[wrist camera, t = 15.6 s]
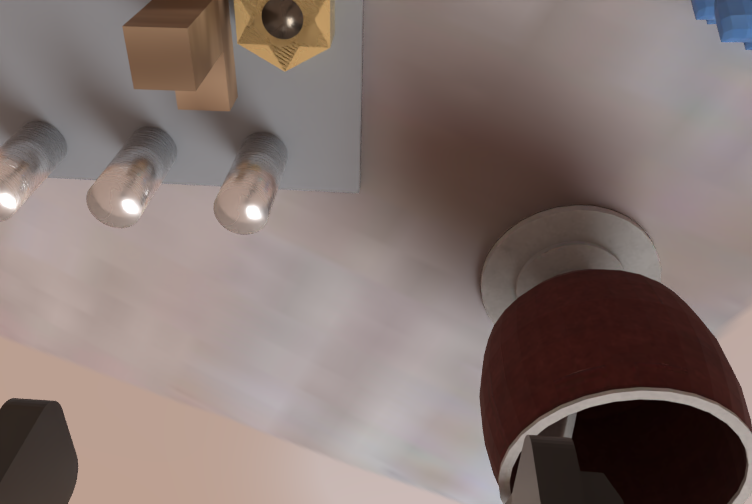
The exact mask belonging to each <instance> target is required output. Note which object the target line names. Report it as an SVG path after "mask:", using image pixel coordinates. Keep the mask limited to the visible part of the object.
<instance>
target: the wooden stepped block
mask: <svg viewBox="0 0 752 504" xmlns="http://www.w3.org/2000/svg"><path fill="white" fill-rule="evenodd" d="M122 28H123V33H124V39H125V44H126V50H127V55H128V60H129V66H130V71H131V77H132V82H133V88H134V89H142V90H171V91H175V94H176V100H177V107H178V110H205V111H230V110H231V108H232V106H233V105H234V103H235V101H236V99H237V97H238V93H237V82H236V72H235V62H234V52H233V41H232V31H231V21H230V11H229V1H228V0H151V1H150V2H149V3H148V4H147V5H146V6H145V7H144V8H142V9H141V10H140V11H139V12H138V13H137V14H136V15H134V16H133V17H132V18H131V19H130V20H129V21H128V22H126V23H125V24H124V25H123V26H122Z"/></svg>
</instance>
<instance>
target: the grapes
mask: <svg viewBox="0 0 752 504" xmlns="http://www.w3.org/2000/svg"><path fill="white" fill-rule="evenodd" d="M691 2H692V6H693V10H694V14H695V18H696V20H706V21H707V24H717V28H718V32H719V36H720V39H721V42H744V45H745V49H746V50H752V0H691Z"/></svg>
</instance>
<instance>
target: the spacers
mask: <svg viewBox="0 0 752 504" xmlns="http://www.w3.org/2000/svg"><path fill="white" fill-rule="evenodd" d="M66 154H67V143H66V140H65V138H64V136H63V135H62V133H61V132H60V131H59V130H58V129H57V128H55V127H54V126H52V125H51V124H49V123H46V122H43V121H31V122H28V123H26V124H25V125H24V126H23V127H21V128H20V129H19V130H18V131H17V132H16V133H15V134H14V135H13V136H12V137H10V138H9V139H8V140H7V141H6V142H5V143H4V144H3V145H2V146H1V147H0V221H5V220H7V219H9V218H10V217H12V216H13V214H14V213H15V212H16V211H17V210H18V209H19V208H20V207H21V206H22V204H23V203H24V202H25V201H26V200H27V199H28V198H29V197H30V196H31V195H32V193H33V192H34V191H35V190H36V189H37V188H38V187H39V186H40V185H41V183H42V182H43V181H44V180H45V179H46V178H47V177H48V176H49V175H50V173H51V172H52V171H53V170H54V169H55V168H56V167H57V166H58V165H59V163H60V162H61V161H62V160H63V159H64V158H65V156H66ZM176 157H177V147H176V144H175V142H174V140H173V139H172V137H171V136H170V135H169V134H168V133H166V132H165V131H163V130H162V129H160V128H157V127H153V126H145V127H141V128H139V129H137V130H136V131H134V132H133V134H132V135H131V136H130V138H129V139H128V140H127V141H126V143H125V144H124V145H123V147H122V148H121V149H120V150H119V152H118V153H117V154H116V156H115V157H114V158H113V159H112V161H111V162H110V163H109V165H108V166H107V167H106V168H105V170H104V171H103V172H102V174H101V175H100V176H99V177H98V179H97V180H96V181H95V183H94V184H93V185H92V186H91V188H90V189H89V191H88V193H87V205H88V208H89V210H90V212H91V213H92V214H93V216H94V217H95V218H96V219H98V220H99V221H100V222H102V223H103V224H105V225H108V226H110V227H114V228H126V227H130V226H132V225H134V224H135V223H136V222H137V221H138V220H139V218H140V217H141V215H142V213H143V212H144V210H145V208H146V207H147V205H148V204H149V202H150V200H151V199H152V197H153V196H154V194H155V192H156V191H157V189H158V187H159V186H160V184H161V183H162V181H163V179H164V178H165V176H166V174H167V173H168V171H169V170H170V168H171V166H172V165H173V163H174V162H175V160H176ZM287 160H288V151H287V148H286V146H285V144H284V143H283V141H282V140H281V139H280V138H278V137H277V136H275V135H274V134H271V133H268V132H255V133H252V134H250V135H248V136H247V137H246V138H245V139H244V140H243V142H242V144H241V146H240V148H239V151H238V153H237V155H236V157H235V159H234V161H233V163H232V166H231V168H230V170H229V172H228V174H227V176H226V178H225V180H224V183H223V185H222V187H221V189H220V191H219V193H218V195H217V198H216V200H215V202H214V213H215V216H216V218H217V220H218V221H219V223H220V224H221V225H222V226H223V227H224V228H226V229H227V230H229V231H231V232H234V233H237V234H243V235H247V234H253V233H256V232H258V231H259V230H261V229H262V228H263V227H264V226H265V225H266V223H267V220H268V217H269V214H270V211H271V208H272V205H273V202H274V199H275V196H276V193H277V190H278V187H279V184H280V181H281V178H282V175H283V172H284V169H285V166H286V163H287Z"/></svg>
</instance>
